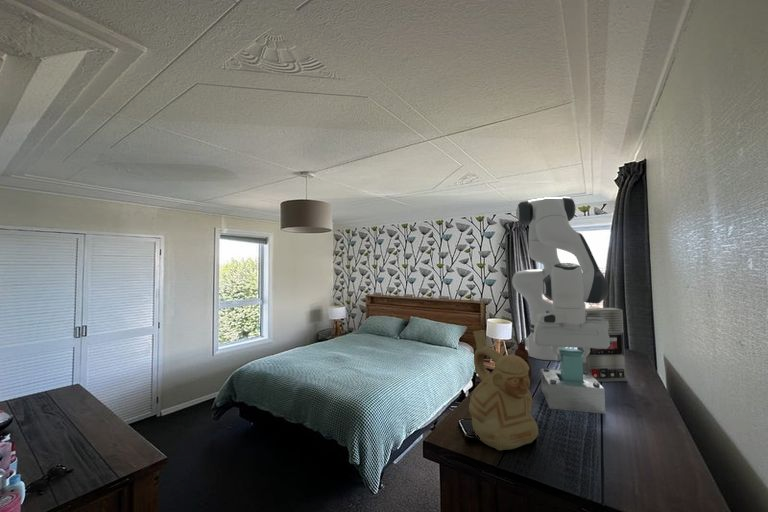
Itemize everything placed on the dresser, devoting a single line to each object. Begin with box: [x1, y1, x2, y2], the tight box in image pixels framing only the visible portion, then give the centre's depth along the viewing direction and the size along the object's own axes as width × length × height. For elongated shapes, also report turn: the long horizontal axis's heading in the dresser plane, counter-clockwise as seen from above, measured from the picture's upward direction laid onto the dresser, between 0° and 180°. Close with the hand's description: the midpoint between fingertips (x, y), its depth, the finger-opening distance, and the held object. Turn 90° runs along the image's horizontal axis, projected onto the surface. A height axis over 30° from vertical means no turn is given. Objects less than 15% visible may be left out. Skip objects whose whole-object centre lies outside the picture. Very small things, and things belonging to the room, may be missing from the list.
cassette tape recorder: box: [576, 307, 629, 383], centre depth 113 cm, size 14×6×25 cm, turn 90°
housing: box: [540, 367, 607, 415], centre depth 97 cm, size 14×14×8 cm
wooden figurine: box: [514, 339, 532, 380], centre depth 115 cm, size 7×6×15 cm
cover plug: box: [559, 347, 583, 382], centre depth 97 cm, size 6×6×13 cm
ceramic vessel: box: [468, 329, 539, 452], centre depth 79 cm, size 17×20×25 cm
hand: (570, 361), depth 97 cm, fingers closed on cover plug, 5 cm apart
